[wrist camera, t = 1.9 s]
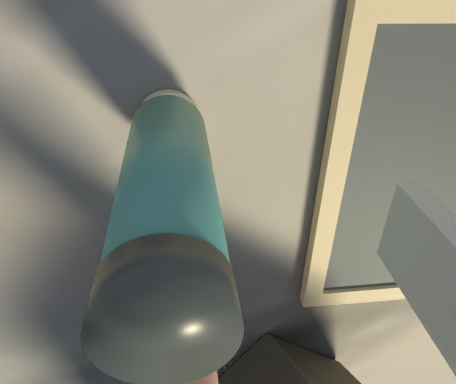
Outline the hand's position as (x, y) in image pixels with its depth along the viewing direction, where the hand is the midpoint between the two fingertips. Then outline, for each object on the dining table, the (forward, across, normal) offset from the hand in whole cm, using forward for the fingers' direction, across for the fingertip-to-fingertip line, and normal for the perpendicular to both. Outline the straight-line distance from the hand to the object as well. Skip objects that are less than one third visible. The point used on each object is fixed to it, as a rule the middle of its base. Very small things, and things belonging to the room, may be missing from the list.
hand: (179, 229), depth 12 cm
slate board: (+10, +16, -4) cm, 19 cm away
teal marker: (+9, 0, 0) cm, 9 cm away
